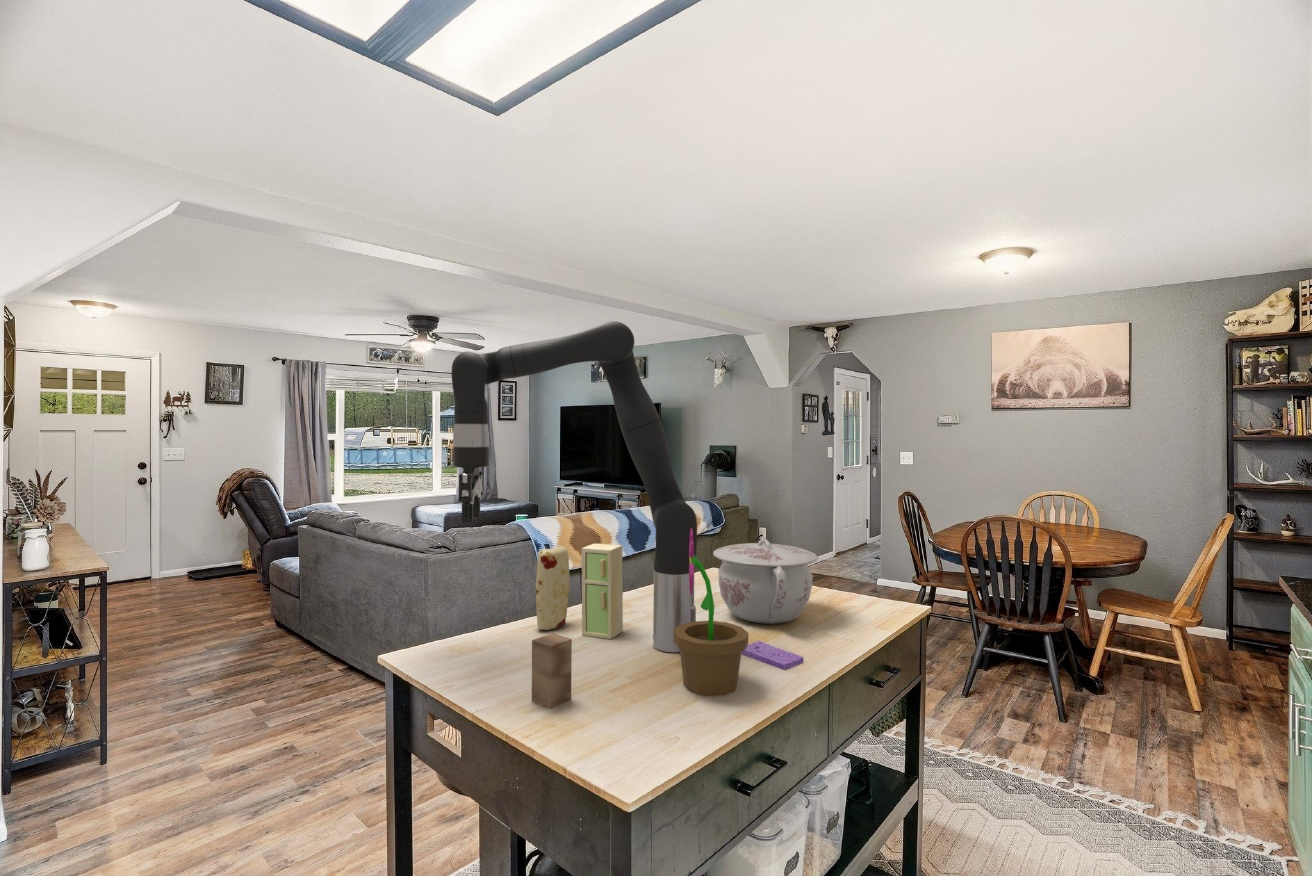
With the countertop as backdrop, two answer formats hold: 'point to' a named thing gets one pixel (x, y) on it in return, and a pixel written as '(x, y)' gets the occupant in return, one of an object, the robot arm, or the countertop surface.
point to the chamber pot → (765, 580)
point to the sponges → (772, 655)
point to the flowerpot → (709, 645)
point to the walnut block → (551, 670)
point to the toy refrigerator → (602, 590)
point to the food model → (552, 587)
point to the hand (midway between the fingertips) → (471, 519)
